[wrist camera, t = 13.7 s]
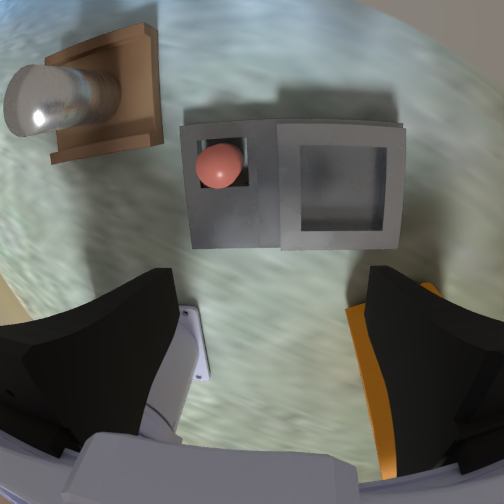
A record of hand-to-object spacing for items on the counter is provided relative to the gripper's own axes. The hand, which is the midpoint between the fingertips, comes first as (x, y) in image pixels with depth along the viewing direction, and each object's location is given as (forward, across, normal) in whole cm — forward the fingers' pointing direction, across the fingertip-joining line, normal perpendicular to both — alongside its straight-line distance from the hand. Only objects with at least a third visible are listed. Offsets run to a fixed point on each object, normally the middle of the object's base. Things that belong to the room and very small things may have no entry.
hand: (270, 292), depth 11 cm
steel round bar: (+9, +11, -9) cm, 17 cm away
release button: (+10, +3, -4) cm, 11 cm away
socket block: (+10, -2, -2) cm, 10 cm away
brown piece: (+10, +11, -9) cm, 17 cm away
